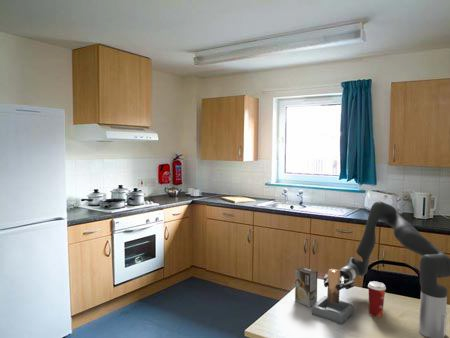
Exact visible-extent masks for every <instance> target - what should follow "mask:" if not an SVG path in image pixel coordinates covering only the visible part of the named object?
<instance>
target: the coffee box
mask: <svg viewBox="0 0 450 338" xmlns="http://www.w3.org/2000/svg"><path fill="white" fill-rule="evenodd" d="M294 276H295V279H294V281H295V285H294V287H295V289H294V294H295V295H294V301H295V302H297V303H299V304H301V305H305V306H307V307H309V308H312V306H313V305H314V304H316V303H317V302H318V301H317V300H318V270H315V269H311V268H308V267H305V266H301V267H298V268H297V269H295V275H294Z"/></svg>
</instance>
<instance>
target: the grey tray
mask: <svg viewBox="0 0 450 338" xmlns="http://www.w3.org/2000/svg"><path fill="white" fill-rule="evenodd" d="M354 313H355V304H354V303H350V302H346V301H343V300H340V299H339V302H338V303H330V302H328V301H327V295H325V296H323V297H322V298H320V299H319V300H318V301H317V303H316V304H314V305H313V306H311V315H312V316H315V317H318V318H321V319H323V320H326V321H330V322H333V323H334V324H335V323H336V324H338V325H344V324H345V323H346V321H348V320H349V319H350V318H351V316H352V315H353V314H354Z"/></svg>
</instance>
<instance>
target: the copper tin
mask: <svg viewBox="0 0 450 338" xmlns="http://www.w3.org/2000/svg"><path fill="white" fill-rule="evenodd" d="M339 270H340V269H336V268H329V269H328V270H327V274H328V286H327V292H326V293H327V295H326V296H327V301H328V302H330V303H338V302H339V300H340V293H341V292H340V291H341V290H339V291H338V290H337V285H339V284H340V271H339Z"/></svg>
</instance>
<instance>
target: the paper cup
mask: <svg viewBox="0 0 450 338" xmlns="http://www.w3.org/2000/svg"><path fill="white" fill-rule="evenodd" d="M367 288H368V313H369V314H370V315H371V316H373V317H382V316H383V311H384V303H385V294H386V290H387V287H386V285H385V284H384V283H383V282H379V281H375V280H373V281H369V283H368V285H367Z"/></svg>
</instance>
